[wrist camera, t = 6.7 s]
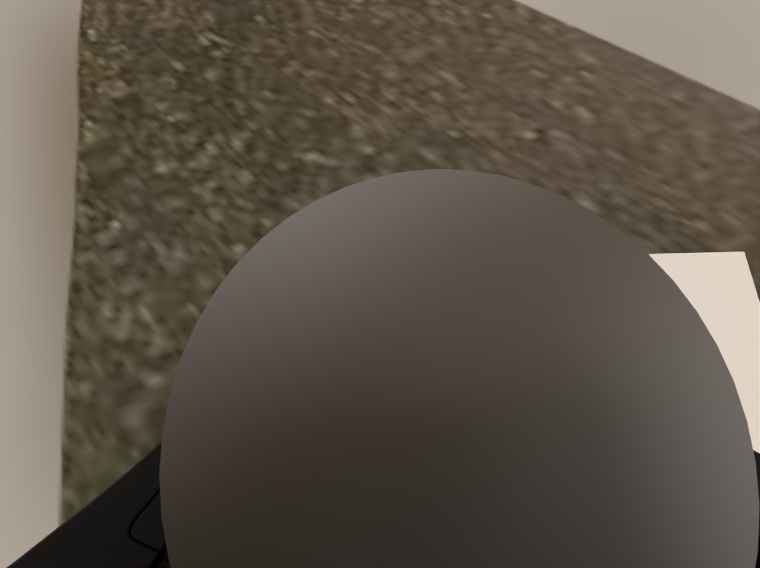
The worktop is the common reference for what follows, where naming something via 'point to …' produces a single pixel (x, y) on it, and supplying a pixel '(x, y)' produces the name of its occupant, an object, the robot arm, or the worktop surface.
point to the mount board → (725, 317)
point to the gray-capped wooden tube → (454, 395)
